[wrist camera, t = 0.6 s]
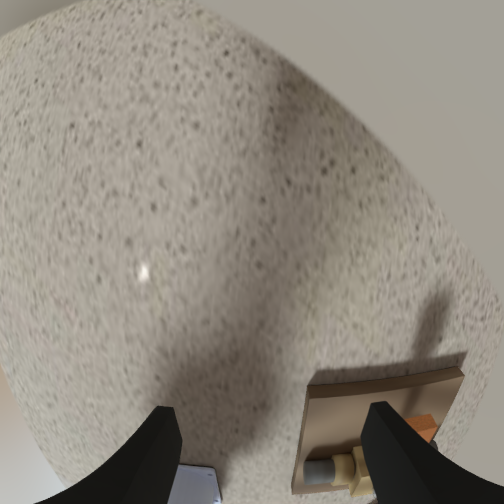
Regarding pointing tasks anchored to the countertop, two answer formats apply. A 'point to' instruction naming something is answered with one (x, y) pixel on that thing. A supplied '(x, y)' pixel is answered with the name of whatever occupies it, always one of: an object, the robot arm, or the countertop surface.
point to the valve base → (360, 425)
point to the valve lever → (421, 429)
